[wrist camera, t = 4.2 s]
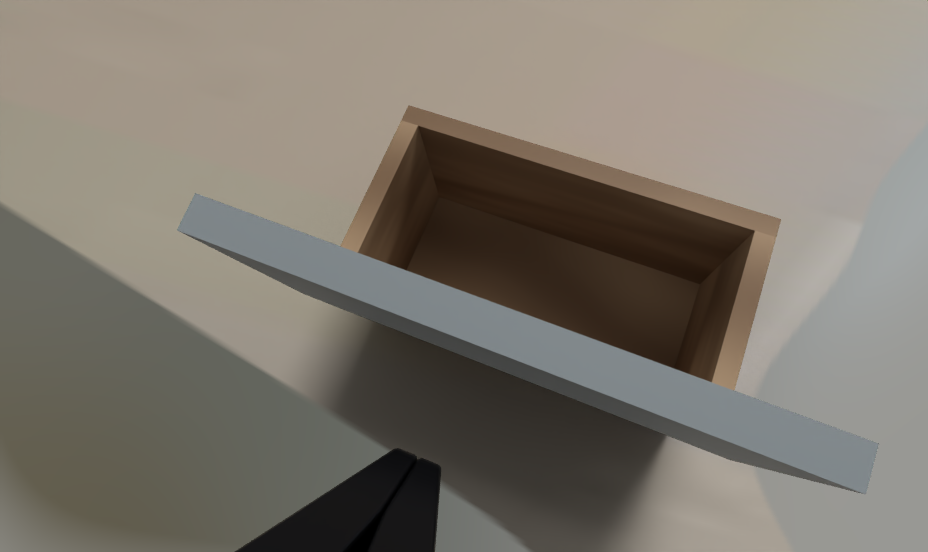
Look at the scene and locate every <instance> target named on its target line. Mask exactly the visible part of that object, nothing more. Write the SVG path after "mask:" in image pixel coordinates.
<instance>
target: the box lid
mask: <svg viewBox="0 0 928 552" xmlns="http://www.w3.org/2000/svg"><path fill="white" fill-rule="evenodd" d="M177 230H178V231H180V232H182V233H184V234H186V235H188V236H190V237H192V238H194V239H196V240H198V241H200V242H202V243H204V244H206V245H207V246H209V247H211V248H213V249H215V250H217V251H219V252H221V253H223V254H225V255H227V256H229V257H231V258H233V259H235V260H237V261H239V262H241V263H243V264H245V265H247V266H249V267H251V268H253V269H255V270H257V271H259V272H261V273H263V274H265V275H267V276H269V277H271V278H273V279H275V280H277V281H279V282H281V283H283V284H285V285H287V286H289V287H291V288H293V289H295V290H297V291H299V292H301V293H303V294H305V295H308V296H310V297H313V298H315V299H318V300H321V301H323V302H326V303H328V304H331V305H333V306H336V307H339V308H341V309H344V310H346V311H349V312H351V313H354V314H357V315H359V316H362V317H364V318H367V319H369V320H372V321H375V322H377V323H380V324H382V325H385V326H387V327H390V328H393V329H395V330H398V331H400V332H403V333H405V334H408V335H410V336H413V337H416V338H418V339H421V340H423V341H426V342H428V343H431V344H434V345H436V346H439V347H441V348H444V349H446V350H449V351H452V352H454V353H457V354H459V355H462V356H464V357H467V358H470V359H472V360H475V361H477V362H480V363H482V364H485V365H488V366H490V367H493V368H495V369H498V370H500V371H503V372H506V373H508V374H511V375H513V376H516V377H518V378H521V379H523V380H526V381H529V382H531V383H534V384H536V385H539V386H541V387H544V388H547V389H549V390H552V391H554V392H557V393H559V394H562V395H565V396H567V397H570V398H572V399H575V400H577V401H580V402H583V403H585V404H588V405H590V406H593V407H595V408H598V409H601V410H603V411H606V412H608V413H611V414H613V415H616V416H618V417H621V418H624V419H626V420H629V421H631V422H634V423H636V424H639V425H642V426H644V427H647V428H649V429H652V430H654V431H657V432H660V433H662V434H665V435H667V436H670V437H672V438H675V439H678V440H680V441H683V442H685V443H688V444H690V445H693V446H696V447H698V448H701V449H703V450H706V451H708V452H711V453H713V454H716V455H719V456H721V457H724V458H726V459H729V460H732V461H736V462H740V463H744V464H748V465H752V466H756V467H760V468H764V469H768V470H772V471H776V472H779V473H783V474H787V475H791V476H795V477H799V478H803V479H807V480H811V481H815V482H819V483H823V484H827V485H831V486H834V487H839V488H842V489H846V490H850V491H854V492H858V493H862V494H866V491H867V488H868V484H869V480H870V476H871V472H872V468H873V464H874V460H875V456H876V452H877V449H878V443H875V442H873V441H870V440H867V439H865V438H862V437H859V436H857V435H854V434H851V433H848V432H846V431H843V430H840V429H837V428H835V427H832V426H829V425H827V424H824V423H821V422H818V421H815V420H813V419H810V418H807V417H804V416H802V415H799V414H797V413H794V412H791V411H788V410H786V409H783V408H780V407H778V406H775V405H772V404H769V403H766V402H764V401H761V400H758V399H756V398H753V397H750V396H747V395H745V394H742V393H739V392H737V391H734V390H731V389H728V388H726V387H723V386H720V385H717V384H715V383H712V382H709V381H707V380H704V379H701V378H698V377H696V376H693V375H690V374H687V373H685V372H682V371H679V370H677V369H674V368H671V367H668V366H666V365H663V364H660V363H657V362H655V361H652V360H649V359H646V358H644V357H641V356H638V355H636V354H633V353H630V352H627V351H625V350H622V349H619V348H616V347H614V346H611V345H608V344H606V343H603V342H600V341H597V340H595V339H592V338H589V337H586V336H584V335H581V334H578V333H576V332H573V331H570V330H567V329H565V328H562V327H559V326H556V325H554V324H551V323H548V322H545V321H543V320H540V319H537V318H535V317H532V316H529V315H526V314H524V313H521V312H518V311H515V310H513V309H510V308H507V307H505V306H502V305H499V304H496V303H494V302H491V301H488V300H485V299H483V298H480V297H477V296H475V295H472V294H469V293H466V292H464V291H461V290H458V289H455V288H453V287H450V286H447V285H444V284H442V283H439V282H436V281H434V280H431V279H428V278H425V277H423V276H420V275H417V274H414V273H412V272H409V271H406V270H404V269H401V268H398V267H395V266H393V265H390V264H387V263H384V262H382V261H379V260H376V259H374V258H371V257H368V256H365V255H363V254H360V253H357V252H354V251H352V250H349V249H346V248H343V247H341V246H338V245H335V244H333V243H330V242H327V241H324V240H322V239H319V238H316V237H313V236H311V235H308V234H305V233H303V232H300V231H297V230H294V229H292V228H289V227H286V226H283V225H281V224H278V223H275V222H273V221H270V220H267V219H264V218H262V217H259V216H256V215H253V214H251V213H248V212H245V211H242V210H240V209H237V208H234V207H232V206H229V205H226V204H223V203H221V202H218V201H215V200H212V199H210V198H207V197H204V196H202V195H199V194H196V193H195V195H194V197H193V199H192V201H191V203H190V205H189V207H188V209H187V211H186V213H185V215H184V217H183V219H182V221H181V223H180V225H179V227H178V229H177Z"/></svg>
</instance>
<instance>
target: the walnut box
mask: <svg viewBox="0 0 928 552" xmlns="http://www.w3.org/2000/svg"><path fill="white" fill-rule="evenodd" d="M780 222H781V219H779V218H775V217H772V216H769V215H766V214H762V213H759V212H756V211H752V210H749V209H746V208H743V207H739V206H736V205H733V204H730V203H726V202H723V201H720V200H716V199H713V198H710V197H707V196H703V195H700V194H697V193H694V192H690V191H687V190H684V189H681V188H677V187H674V186H671V185H667V184H664V183H661V182H658V181H654V180H651V179H648V178H645V177H641V176H638V175H635V174H631V173H628V172H625V171H622V170H618V169H615V168H612V167H609V166H605V165H602V164H599V163H595V162H592V161H589V160H586V159H582V158H579V157H576V156H573V155H569V154H566V153H563V152H560V151H556V150H553V149H550V148H546V147H543V146H540V145H537V144H533V143H530V142H527V141H524V140H520V139H517V138H514V137H510V136H507V135H504V134H501V133H497V132H494V131H491V130H488V129H484V128H481V127H478V126H475V125H471V124H468V123H465V122H461V121H458V120H455V119H452V118H448V117H445V116H442V115H439V114H435V113H432V112H429V111H425V110H422V109H419V108H416V107H412V106H408V108H407V110H406V112H405V114H404V116H403V118H402V120H401V122H400V124H399V126H398V129H397V131H396V133H395V135H394V137H393V139H392V141H391V143H390V145H389V147H388V149H387V151H386V153H385V155H384V157H383V159H382V161H381V164H380V166H379V168H378V170H377V172H376V174H375V176H374V178H373V180H372V182H371V184H370V186H369V188H368V190H367V192H366V194H365V196H364V199H363V201H362V203H361V205H360V207H359V209H358V211H357V213H356V215H355V217H354V219H353V221H352V223H351V225H350V227H349V229H348V232H347V234H346V236H345V238H344V240H343V242H342V244H341V247H343V248H346V249H349V250H352V251H354V252H357V253H360V254H363V255H365V256H368V257H371V258H374V259H376V260H379V261H382V262H384V263H387V264H390V265H393V266H395V267H398V268H401V269H404V270H406V271H409V272H412V273H414V274H417V275H420V276H423V277H425V278H428V279H431V280H434V281H436V282H439V283H442V284H444V285H447V286H450V287H453V288H455V289H458V290H461V291H464V292H466V293H469V294H472V295H475V296H477V297H480V298H483V299H485V300H488V301H491V302H494V303H496V304H499V305H502V306H505V307H507V308H510V309H513V310H515V311H518V312H521V313H524V314H526V315H529V316H532V317H535V318H537V319H540V320H543V321H545V322H548V323H551V324H554V325H556V326H559V327H562V328H565V329H567V330H570V331H573V332H576V333H578V334H581V335H584V336H586V337H589V338H592V339H595V340H597V341H600V342H603V343H606V344H608V345H611V346H614V347H616V348H619V349H622V350H625V351H627V352H630V353H633V354H636V355H638V356H641V357H644V358H646V359H649V360H652V361H655V362H657V363H660V364H663V365H666V366H668V367H671V368H674V369H677V370H679V371H682V372H685V373H687V374H690V375H693V376H696V377H698V378H701V379H704V380H707V381H709V382H712V383H715V384H717V385H720V386H723V387H726V388H728V389H731V390H735V386H736V382H737V379H738V375H739V371H740V368H741V364H742V360H743V357H744V353H745V349H746V346H747V342H748V338H749V335H750V331H751V328H752V324H753V320H754V317H755V313H756V309H757V306H758V302H759V298H760V295H761V291H762V287H763V284H764V280H765V276H766V273H767V269H768V265H769V262H770V258H771V254H772V251H773V247H774V243H775V240H776V236H777V232H778V229H779V225H780Z"/></svg>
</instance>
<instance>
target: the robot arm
mask: <svg viewBox="0 0 928 552" xmlns="http://www.w3.org/2000/svg"><path fill="white" fill-rule="evenodd" d="M440 478H441V467H440V466H439V465H438V464H436V463H433V462H431V461H428V460H426V459H423V458H420V459H418V458H417V456H415V455H414V454H411V453H409V452H407V451H404V450H402V449H399V448H397V449H393V450H392V451H390V452H389V453H387V454H386V455H384V456H382V457H381V458H379V459H378V460H376V461H375V462H373V463H372V464H370V465H368V466H367V467H366V468H364V469H362V470H361V471H359V472H358V473H356V474H355V475H353V476H352V477H350V478H348V479H347V480H345V481H344V482H342V483H341V484H339V485H337V486H336V487H334V488H333V489H331V490H330V491H329V492H327V493H325V494H324V495H322V496H320V497H319V498H317V499H316V500H314V501H313V502H311V503H309V504H308V505H306V506H305V507H303V508H302V509H300V510H299V511H297V512H296V513H294V514H293V515H291V516H289V517H288V518H286V519H285V520H283V521H282V522H280V523H278V524H277V525H275V526H274V527H272V528H271V529H269V530H268V531H266V532H265V533H263V534H261V535H260V536H258V537H257V538H256V539H254V540H252V541H251V542H249V543H247V544H246V545H244V546H243V547H241V548H240V549H238V550H237V551H235V552H435V544H436V531H437V518H438V503H439V491H440Z"/></svg>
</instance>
